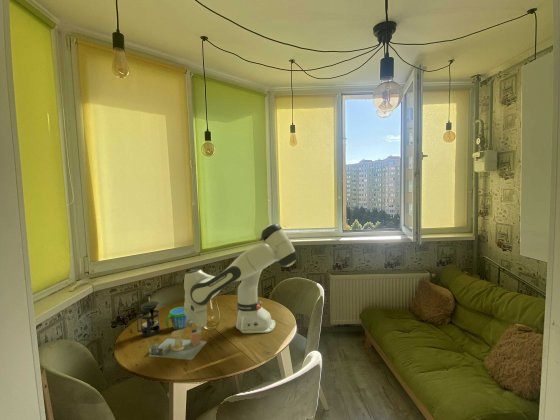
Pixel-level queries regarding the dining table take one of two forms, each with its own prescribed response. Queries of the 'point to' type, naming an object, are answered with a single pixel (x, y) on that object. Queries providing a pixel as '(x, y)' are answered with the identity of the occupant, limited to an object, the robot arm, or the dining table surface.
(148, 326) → the french press
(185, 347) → the bobbin board
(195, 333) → the tab block
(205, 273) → the robot arm
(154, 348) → the notch block
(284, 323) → the dining table surface
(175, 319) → the snack cup
